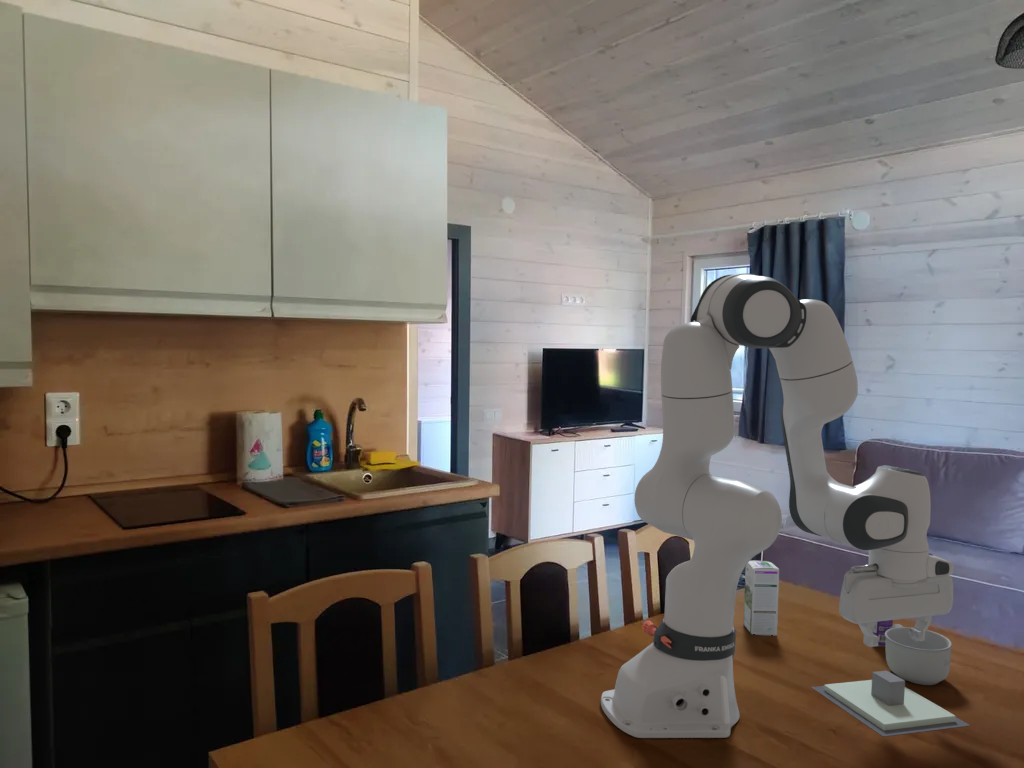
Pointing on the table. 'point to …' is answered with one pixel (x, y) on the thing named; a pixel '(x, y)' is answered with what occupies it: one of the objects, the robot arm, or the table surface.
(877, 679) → the lid
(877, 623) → the container
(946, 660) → the teacup
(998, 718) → the table surface
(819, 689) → the mat
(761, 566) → the syrup box
